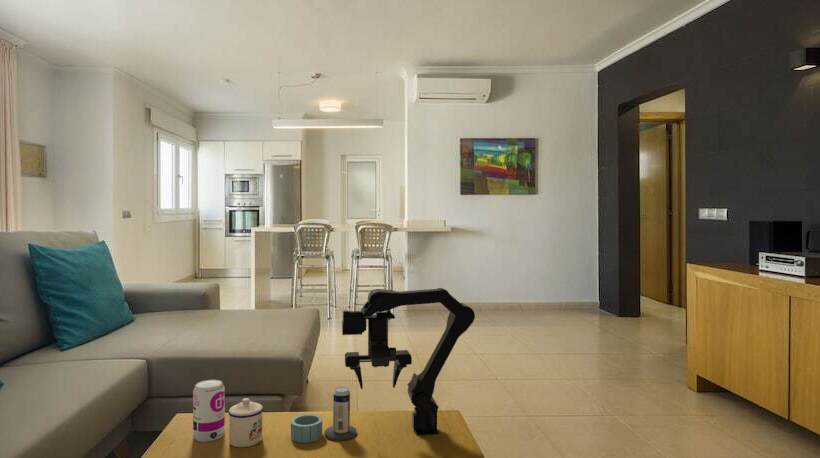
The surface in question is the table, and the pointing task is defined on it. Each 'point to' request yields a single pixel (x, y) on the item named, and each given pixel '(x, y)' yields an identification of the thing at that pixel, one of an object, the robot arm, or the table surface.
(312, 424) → the plastic tub
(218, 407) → the supplement can
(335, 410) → the beer can
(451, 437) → the table surface
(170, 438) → the table surface
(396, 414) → the table surface
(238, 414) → the teacup with lid
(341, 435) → the rubber mat
